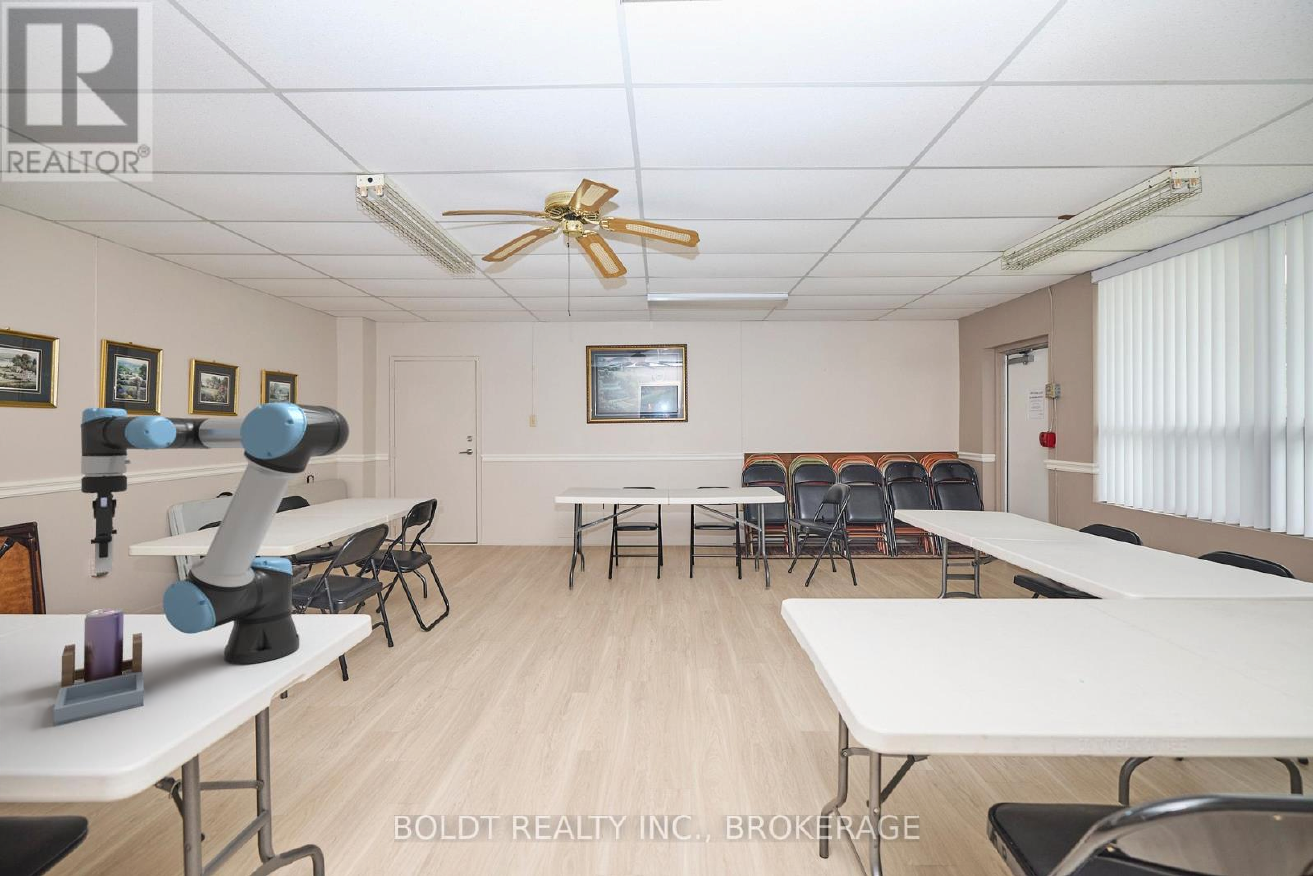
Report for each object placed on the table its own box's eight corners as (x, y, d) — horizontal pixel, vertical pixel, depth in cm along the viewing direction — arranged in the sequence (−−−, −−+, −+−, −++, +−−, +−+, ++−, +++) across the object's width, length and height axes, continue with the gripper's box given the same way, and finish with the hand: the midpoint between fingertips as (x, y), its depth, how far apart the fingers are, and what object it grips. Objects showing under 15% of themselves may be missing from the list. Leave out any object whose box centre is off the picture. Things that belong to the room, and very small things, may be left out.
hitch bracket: (141, 681, 120) (142, 644, 121) (60, 699, 112) (61, 658, 112) (141, 666, 129) (141, 631, 129) (65, 681, 121) (65, 643, 121)
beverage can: (129, 678, 122) (130, 609, 122) (94, 689, 117) (95, 616, 117) (112, 674, 124) (113, 606, 124) (77, 685, 119) (78, 613, 119)
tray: (143, 705, 110) (143, 690, 110) (53, 726, 102) (53, 709, 102) (142, 685, 119) (142, 671, 119) (59, 703, 110) (59, 688, 110)
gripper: (126, 476, 123) (126, 573, 123) (127, 472, 141) (126, 557, 141) (77, 478, 118) (77, 579, 118) (84, 473, 136) (84, 561, 136)
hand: (104, 567), depth 129 cm, fingers open, 13 cm apart
